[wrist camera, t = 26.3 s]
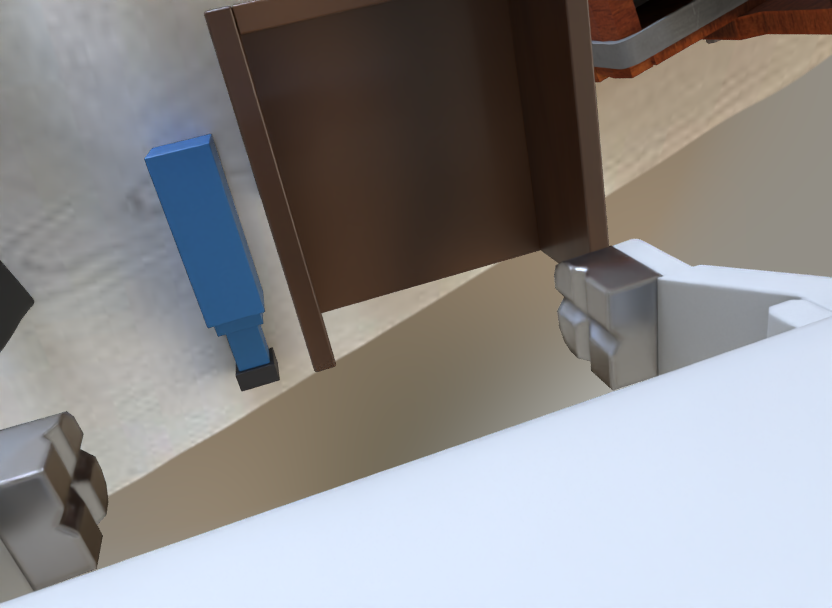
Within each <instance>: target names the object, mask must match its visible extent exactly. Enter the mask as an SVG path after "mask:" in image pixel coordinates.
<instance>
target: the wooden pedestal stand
mask: <svg viewBox="0 0 832 608" xmlns="http://www.w3.org/2000/svg"><path fill="white" fill-rule="evenodd" d="M204 16H205V19H206V22H207V26H208V29H209V32H210V35H211V39H212V42H213V45H214V48H215V52H216V55H217V58H218V61H219V64H220V68H221V71H222V74H223V77H224V81H225V84H226V87H227V90H228V94H229V97H230V100H231V103H232V106H233V110H234V113H235V116H236V119H237V123H238V126H239V129H240V132H241V136H242V139H243V142H244V145H245V149H246V152H247V155H248V158H249V161H250V165H251V168H252V171H253V174H254V178H255V181H256V184H257V187H258V191H259V194H260V197H261V200H262V203H263V207H264V210H265V213H266V216H267V220H268V223H269V226H270V229H271V233H272V236H273V239H274V242H275V245H276V249H277V252H278V255H279V258H280V262H281V265H282V268H283V271H284V275H285V278H286V281H287V284H288V287H289V291H290V294H291V297H292V300H293V304H294V307H295V310H296V313H297V317H298V320H299V323H300V326H301V329H302V333H303V336H304V339H305V342H306V346H307V349H308V352H309V355H310V359H311V362H312V365H313V368H314V371H315V372H319V371H322V370H325V369H329V368H332V367H335V366H336V362H335V359H334V355H333V352H332V348H331V345H330V341H329V338H328V335H327V331H326V328H325V324H324V321H323V317H322V314H321V313H324V312H327V311H331V310H334V309H338V308H341V307H345V306H348V305H352V304H355V303H359V302H362V301H366V300H369V299H372V298H376V297H379V296H383V295H386V294H390V293H393V292H397V291H400V290H404V289H407V288H411V287H414V286H418V285H421V284H425V283H428V282H432V281H435V280H439V279H442V278H446V277H449V276H452V275H456V274H459V273H463V272H466V271H470V270H473V269H477V268H480V267H484V266H487V265H491V264H494V263H498V262H501V261H505V260H508V259H512V258H515V257H519V256H522V255H525V254H529V253H532V252H536V251H539V250H541V251H543V252H544V253H545V254H547V255H548V256H549V257H551V258H552V259H554V260H555V261H556V262H558V263H561V262H563V261H566V260H569V259H572V258H575V257H578V256H581V255H584V254H587V253H590V252H593V251H596V250H599V249H603V248H606V247H609V239H608V228H607V216H606V204H605V192H604V181H603V169H602V157H601V145H600V134H599V122H598V110H597V98H596V87H595V75H594V63H593V51H592V40H591V28H590V16H589V4H588V0H253V1H249V2H244V3H239V4H235V5H233V6H232V8H231V7H230V6H226V7H221V8H216V9H212V10H207V11H205V12H204Z"/></svg>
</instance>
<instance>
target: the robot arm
mask: <svg viewBox="0 0 832 608" xmlns="http://www.w3.org/2000/svg"><path fill="white" fill-rule="evenodd" d="M554 277H555V288H556V289H557V290H558V291H559V292H560V293H561V294H562V295H563V296H564V299H563V301H562V303H561V305H560V307H559V308H558V311H557V312H558V320H559V328H560V330H561V333H562V336H563V339H564V341H565V343H566V344H567V346H568V348H569V349H570V351H571V352H572V353H573V354H574V355H575V356H576V357H577V358H579V359H583V360H587V361H591V371H592V372H593V373H594V374H595V375H597V376H598V377H599V378H600V379H601V380H602V381H603V382H604V383H605V384H606V385H607V386H608V387H610V388H611V389H612V390H615V389H619V388H621V387H625V386H628V385H631V384H634V383H636V384H634V385H631V386H628V387H625V388H622V389H619V390H616V391H613V392H611V393H608V394H605V395H602V396H599V397H596V398H593V399H590V400H588V401H584V402H582V403H579V404H576V405H573V406H570V407H567V408H564V409H561V410H558V411H556V412H553V413H550V414H547V415H544V416H541V417H539V418H535V419H533V420H530V421H527V422H524V423H521V424H518V425H515V426H513V427H509V428H506V429H504V430H501V431H498V432H495V433H492V434H489V435H486V436H484V437H480V438H478V439H475V440H472V441H469V442H466V443H463V444H460V445H458V446H454V447H452V448H449V449H446V450H443V451H440V452H437V453H434V454H431V455H429V456H425V457H423V458H420V459H417V460H414V461H411V462H408V463H405V464H402V465H400V466H397V467H394V468H391V469H388V470H385V471H382V472H379V473H376V474H373V475H370V476H368V477H365V478H362V479H359V480H356V481H353V482H350V483H347V484H344V485H342V486H339V487H336V488H333V489H330V490H327V491H324V492H321V493H318V494H315V495H313V496H310V497H307V498H304V499H301V500H298V501H295V502H292V503H290V504H287V505H284V506H281V507H278V508H275V509H272V510H269V511H266V512H263V513H261V514H258V515H255V516H252V517H249V518H246V519H243V520H240V521H237V522H234V523H232V524H229V525H226V526H223V527H220V528H217V529H214V530H211V531H208V532H205V533H203V534H200V535H197V536H194V537H191V538H188V539H185V540H183V541H179V542H177V543H174V544H171V545H168V546H165V547H162V548H159V549H156V550H153V551H150V552H148V553H145V554H142V555H139V556H136V557H133V558H130V559H127V560H124V561H122V562H119V563H116V564H113V565H110V566H107V567H104V568H101V569H99V570H95V571H93V572H90V573H87V574H84V575H81V574H83V573H86V572H89V571H92V570H94V569H97V564H98V559H99V553H100V547H101V542H102V537H103V535H102V533H101V532H100V530H99V528H98V526H97V525H98V524H99V523H100V521H101V520H102V519H103V518H104V517H105V516H106V514H107V507H108V495H107V486H106V481H105V478H104V475H103V472H102V469H101V467H100V465H99V463H98V461H97V459H96V457H95V456H93V455H91V454H89V453H87V452H85V451H83V450H81V449H80V446H81V442H82V438H83V432H82V430H81V428H80V427H79V425H78V423H77V421H76V419H75V418H74V416H72V415H71V414H70V413H68V412H67V411H66V412H62V413H59V414H55V415H52V416H48V417H45V418H41V419H38V420H34V421H30V422H27V423H23V424H20V425H16V426H13V427H9V428H6V429H2V430H0V608H832V277H825V276H815V275H805V274H793V273H784V272H772V271H762V270H752V269H741V268H731V267H721V266H709V265H698V266H695V267H692V266H690V265H688V264H686V263H684V262H682V261H680V260H678V259H677V258H675V257H673V256H671V255H669V254H667V253H665V252H663V251H661V250H659V249H657V248H656V247H654V246H652V245H650V244H648V243H646V242H644V241H642V240H640V239H631V240H628V241H625V242H622V243H619V244H616V245H614V246H609V247H606V248H603V249H599V250H596V251H593V252H590V253H587V254H584V255H581V256H578V257H575V258H572V259H569V260H566V261H563V262H561V263H559V264H557V265H556V268H555V274H554ZM653 377H654V378H653ZM650 378H651V379H650ZM647 379H648V380H647ZM644 380H645V381H644ZM641 381H642V382H641ZM638 382H639V383H638ZM78 575H81V576H78ZM75 576H78V577H75ZM73 577H75V578H73ZM70 578H72V579H70ZM67 579H69V580H67ZM65 580H67V581H65ZM62 581H64V582H62ZM59 582H61V583H59ZM57 583H58V584H57ZM54 584H55V585H54ZM51 585H52V586H51Z"/></svg>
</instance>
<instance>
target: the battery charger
mask: <svg viewBox="0 0 832 608" xmlns="http://www.w3.org/2000/svg"><path fill="white" fill-rule="evenodd" d="M33 304H34V300H33V298H32V297H31V296H30V295H29V293H28V292H27V291H26V290H25V289H24V288H23V286H22V285H21V284H20V283H19V282H18V280H17V279H16V278H15V277H14V276H13V275H12V273H11V272H10V271H9V270H8V269H7V268H6V266H5V265H4V264H3V263H2V262H1V261H0V352H1V351H2V349H3V348H4V347H5V345H6V344H7V342H8V341H9V339H10V338H11V336H12V335H13V333H14V331H15V330H16V328H17V326H18V325H19V323H20V321H21V319H22V318H23V317H24V315H25V314H26V313H27V311H28V310H29V309H30V308H31V307H32V306H33Z"/></svg>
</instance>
